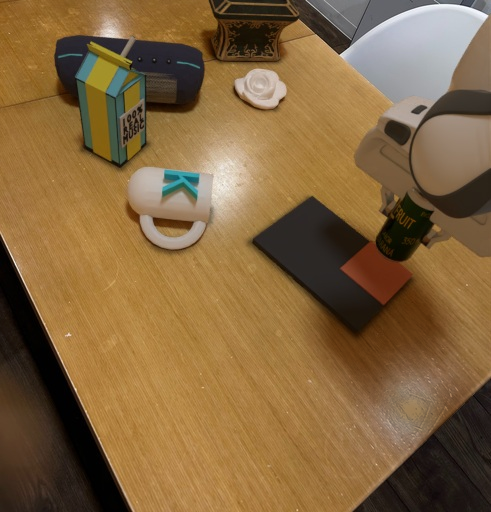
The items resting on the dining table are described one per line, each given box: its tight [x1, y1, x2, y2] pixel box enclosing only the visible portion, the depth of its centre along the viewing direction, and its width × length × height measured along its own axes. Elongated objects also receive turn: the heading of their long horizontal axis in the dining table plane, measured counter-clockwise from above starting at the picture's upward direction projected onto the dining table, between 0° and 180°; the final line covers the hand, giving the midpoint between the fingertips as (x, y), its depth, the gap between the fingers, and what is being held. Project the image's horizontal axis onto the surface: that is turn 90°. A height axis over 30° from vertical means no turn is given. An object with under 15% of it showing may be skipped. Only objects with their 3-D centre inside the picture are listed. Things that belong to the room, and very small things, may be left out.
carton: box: [75, 35, 148, 169], centre depth 74 cm, size 7×8×18 cm
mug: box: [126, 166, 214, 250], centre depth 71 cm, size 12×9×12 cm
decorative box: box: [208, 0, 301, 62], centre depth 95 cm, size 20×10×20 cm, turn 103°
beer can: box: [374, 187, 436, 263], centre depth 63 cm, size 5×5×12 cm
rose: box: [233, 68, 288, 110], centre depth 93 cm, size 10×4×10 cm
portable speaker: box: [53, 34, 206, 105], centre depth 85 cm, size 25×10×10 cm, turn 96°
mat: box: [251, 195, 414, 334], centre depth 74 cm, size 20×14×1 cm
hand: (405, 227), depth 64 cm, fingers closed on beer can, 5 cm apart
